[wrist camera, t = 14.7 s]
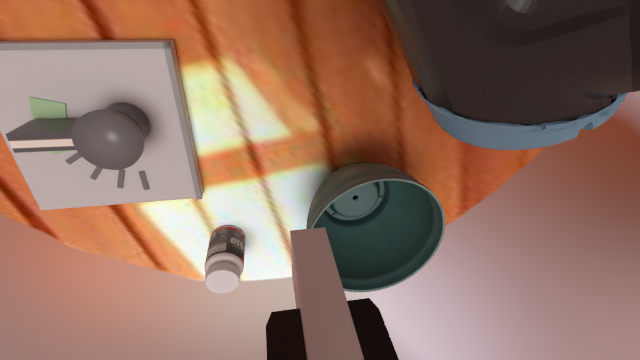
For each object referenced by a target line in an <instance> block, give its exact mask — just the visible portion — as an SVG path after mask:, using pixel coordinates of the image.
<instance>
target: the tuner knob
mask: <svg viewBox="0 0 640 360" xmlns="http://www.w3.org/2000/svg"><path fill="white" fill-rule="evenodd" d="M149 133H150V122H149V120H148V117H147V116H146V115H145V113H144V112H143V111H142V110H141V109H139V108H138V107H136V106H134V105H132V104H129V103H124V102H119V103H114V104H111V105H109V106H108V107H107V108H105V109H99V110H93V111H90V112H88V113H86V114H84V115H83V116H81V117H80V118H79V119H52V120H30V121H29V122H27V123H25V124H23V125H21V126H20V127H18V128H16V129H14V130H12V131H10V132H9V133H7V134H5V135H6V137H7V139H8V141H9V143H10V145H11V147H12V149H13V151H14V153H21V152H45V151H68V150H77V152H78V153H79V154H80V155H81V156H82V157H83V158H84V159H85V160H87V161H88V162H90V163H91V164H93V165H95V166H97V167H100V168H103V169H108V170H121V169H125V168H128V167H130V166H132V165H133V164H135V163H136V162H137V161H138V159H139V158H140V157H141V155H142V153H143V151H144V140H145V139H146V138H147V136H148V135H149Z"/></svg>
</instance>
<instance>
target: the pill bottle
mask: <svg viewBox="0 0 640 360" xmlns="http://www.w3.org/2000/svg"><path fill="white" fill-rule="evenodd" d="M244 248H245V236H244V234H243V232H242V231H241V230H240V229H239V228H237V227H234V226H222V227H219V228H217V229H216V230H214V232H213V233H212V235H211V237H210V243H209V248H208V253H207V258H206V262H205V273H206V275H205V285H206V287H207V288H208V290H210V291H212V292H214V293H218V294H224V293H228V292H231V291H233V290H234V289H236V288H237V286H238V284H239V279H240V275H241V274H242V271H243V267H244Z"/></svg>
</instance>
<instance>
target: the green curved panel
mask: <svg viewBox="0 0 640 360" xmlns="http://www.w3.org/2000/svg"><path fill="white" fill-rule="evenodd" d="M29 102H30V109H31V116H36V117H41V118H33V120H52V119H67V107H66V103H62V102H56V101H51V100H46V99H40V98H35V97H29ZM68 151H71V150H68ZM64 152H67V151H52V153H53V154H54V155H57V154H61V153H64ZM81 157H82V156H81V155H80V154H79V153H78V152H77V153H76V154H74V155H73V156H71V157H70V158H68V159H67V160H65V161H66V162H67V163H68V164H69V165H70V164H72V163H73V162H75V161H76V160H78V159H79V158H81ZM102 169H103V168H100V167H96V168H95V170H94V171H93V173H92V175H91V176H90V178H91V179H93V180H96V179H97V177H98V176H99V174H100V172H101V171H102ZM138 173H139V176H140V179H141V182H142V185H143V189H144V190H149V189H150V188H149V184H148V181H147V178H146V174H145V171H139V172H138ZM124 177H125V170H119V172H118V182H117V188H122V189H123V186H124Z"/></svg>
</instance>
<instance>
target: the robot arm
mask: <svg viewBox="0 0 640 360" xmlns="http://www.w3.org/2000/svg"><path fill="white" fill-rule="evenodd" d="M377 1H378V3H379V5H380V8H381V10H382V12H383V14H384V16H385V18H386V21H387V23H388V25H389V27H390V29H391V31H392V34H393V36H394V38H395V40H396V42H397V45H398V47H399V49H400V51H401V53H402V55H403V58H404V60H405V62H406V64H407V66H408V68H409V71H410V73H411V75H412V77H413V85H414V87H415V90H416V91H417V93H418V95H419V96H420V97H421V98H422V100H423V101H425V102H426V104H427V106H428V108H429V110H430V112H431V113H432V115H433V117H434V119H435V121H436V122H437V123H438V125H439V126H440V127H441V128H442V129H443V130H445V131H446V132H447V133H449V134H450V135H451V136H452V137H454V138H456V139H458V140H460V141H462V142H464V143H467V144H470V145H473V146H477V147H482V148H488V149H497V150H524V149H534V148H541V147H546V146H551V145H555V144H558V143H562V142H565V141H568V140H571V139H573V138H576V137H577V135H578V133H579V130H580V129H587V130H592V129H594V128H596V127H598V126H599V125H601V124H603V123H604V122H605V121H606V120H608V119H609V118H610V117H611V116H612V115H613V114H614V113H615V112H616V111H617V109H618V108H619V106H620V104H621V103H622V102H623V101H624V99H625V97H626V95H627V94H628V92H635V91H640V0H377ZM290 233H291V255H292V277H293V285H294V293H295V301H296V308H297V309H292V310H284V311H277V312H272V313H271V315H270V318H269V320H268V323H267V325H266V340H267V360H399V359H398V357H397V354H396V352H395V349H394V347H393V344H392V341H391V339H390V337H389V334H388V331H387V329H386V326H385V325H384V321H383V318H382V316H381V313H380V311H379V309H378V308H377V307H376V305H375V304H374V303H373V302H372V301H371V300H370V299H369V298H366V299H359V300H351V301H347V300H346V297H345V293H344V290H343V286H342V283H341V280H340V276H339V273H338V270H337V266H336V263H335V259H334V256H333V253H332V249H331V246H330V242H329V239H328V236H327V232H326V229H325V227H323V228H313V229H303V230H293V231H290Z"/></svg>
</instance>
